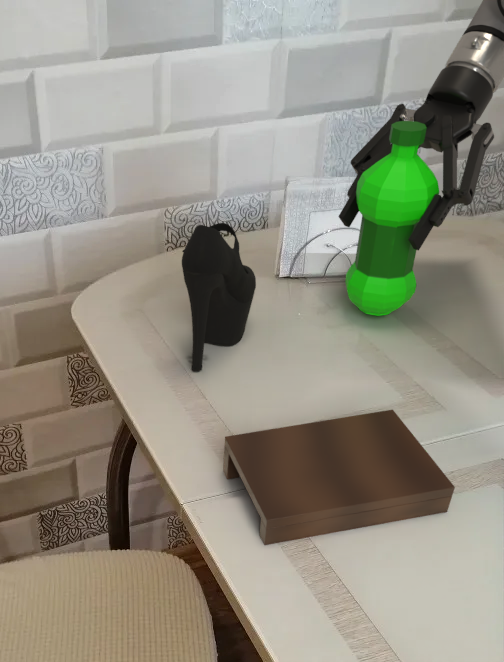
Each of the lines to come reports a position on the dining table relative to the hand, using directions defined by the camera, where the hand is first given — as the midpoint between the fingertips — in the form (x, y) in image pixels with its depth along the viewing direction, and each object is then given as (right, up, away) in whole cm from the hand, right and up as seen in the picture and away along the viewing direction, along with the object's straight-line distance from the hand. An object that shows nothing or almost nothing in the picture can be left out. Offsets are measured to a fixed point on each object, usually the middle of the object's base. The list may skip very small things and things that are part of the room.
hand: (377, 233), depth 107 cm
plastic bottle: (+3, -8, +9) cm, 13 cm away
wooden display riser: (-11, -35, -19) cm, 42 cm away
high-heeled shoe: (-21, -14, +6) cm, 26 cm away
